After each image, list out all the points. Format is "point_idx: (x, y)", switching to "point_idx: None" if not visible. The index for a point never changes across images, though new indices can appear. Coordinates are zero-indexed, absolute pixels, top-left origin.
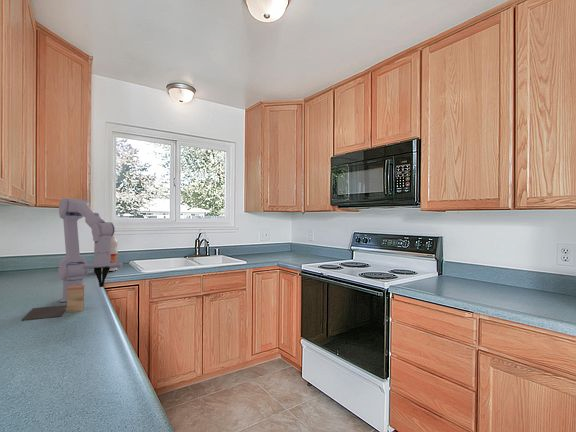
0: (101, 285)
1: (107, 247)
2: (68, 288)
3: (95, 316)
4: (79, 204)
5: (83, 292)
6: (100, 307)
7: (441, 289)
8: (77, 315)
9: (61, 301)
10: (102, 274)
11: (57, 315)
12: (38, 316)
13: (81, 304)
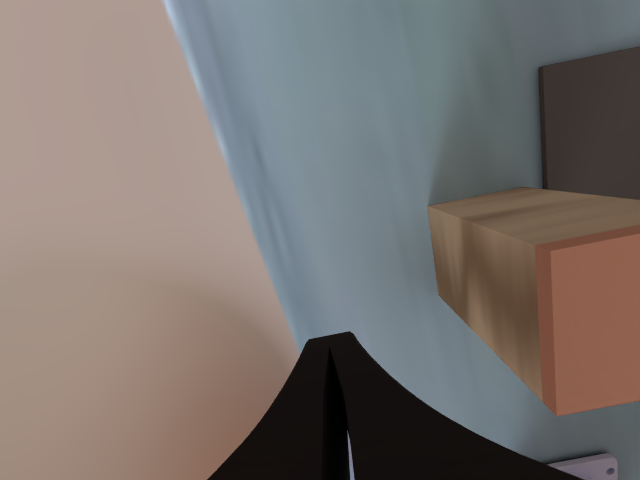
0: (327, 342)
1: None
2: None
3: (293, 8)
4: None
5: (503, 286)
6: (326, 276)
7: None
8: (432, 76)
9: (606, 456)
10: (313, 467)
11: (567, 82)
12: None
13: (455, 212)
